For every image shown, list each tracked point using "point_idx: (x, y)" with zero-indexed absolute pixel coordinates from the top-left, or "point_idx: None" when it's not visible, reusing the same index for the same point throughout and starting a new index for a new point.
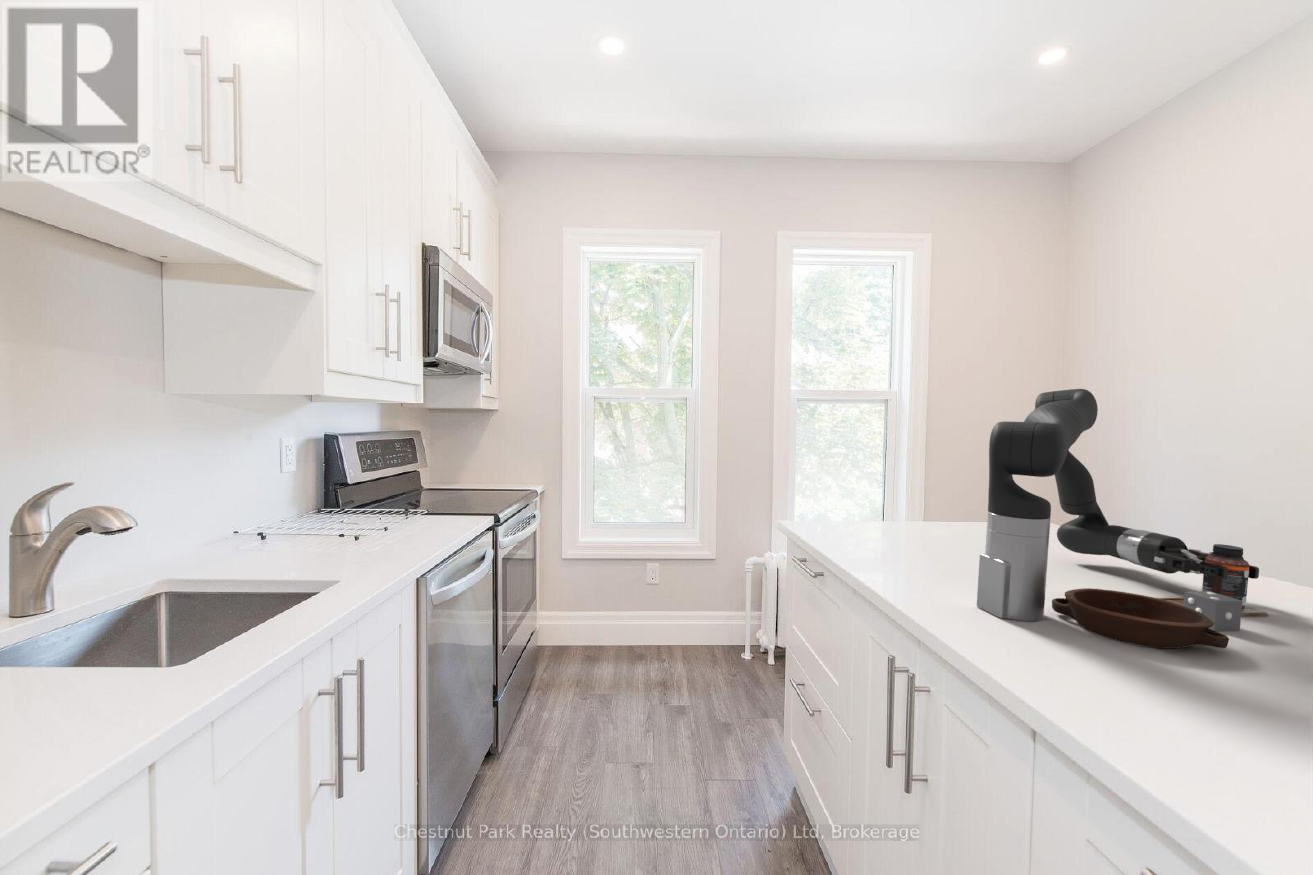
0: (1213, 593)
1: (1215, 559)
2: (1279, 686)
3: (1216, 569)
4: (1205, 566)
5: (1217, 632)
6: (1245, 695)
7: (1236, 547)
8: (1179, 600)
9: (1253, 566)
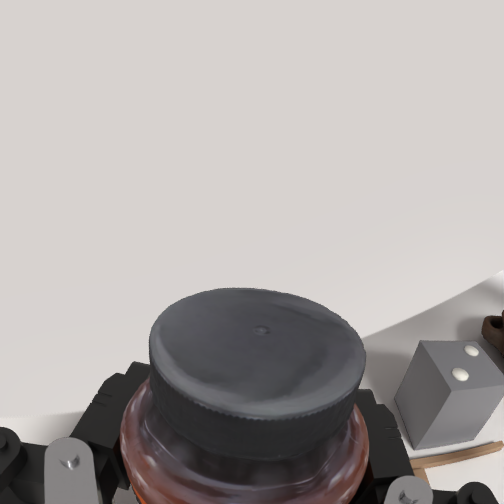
0: (456, 372)
1: (362, 420)
2: (465, 302)
3: (386, 413)
4: (405, 452)
5: (491, 325)
6: (494, 299)
7: (233, 303)
8: None
9: (141, 370)
